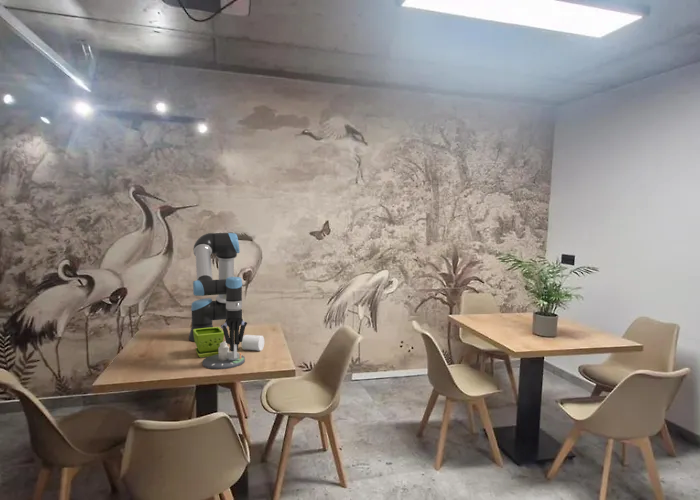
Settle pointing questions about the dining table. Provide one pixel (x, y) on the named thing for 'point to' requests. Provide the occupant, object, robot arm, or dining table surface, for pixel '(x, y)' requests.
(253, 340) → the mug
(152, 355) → the dining table surface
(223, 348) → the white lumpy piece
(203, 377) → the dining table surface
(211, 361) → the dial
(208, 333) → the flower pot
